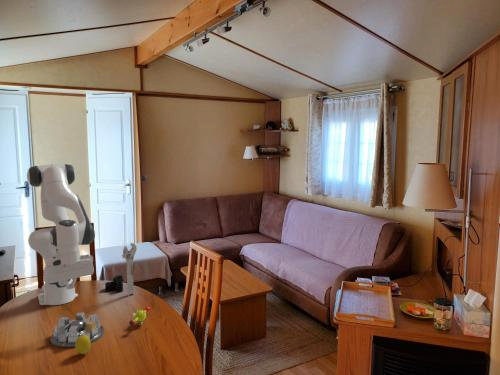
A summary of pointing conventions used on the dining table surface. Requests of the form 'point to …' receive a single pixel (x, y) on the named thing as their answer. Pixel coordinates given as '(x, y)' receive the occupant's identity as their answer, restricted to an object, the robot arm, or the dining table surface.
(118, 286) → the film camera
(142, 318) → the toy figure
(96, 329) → the cube bead bracelet
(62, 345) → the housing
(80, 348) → the lemon
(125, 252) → the wrench
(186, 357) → the dining table surface
